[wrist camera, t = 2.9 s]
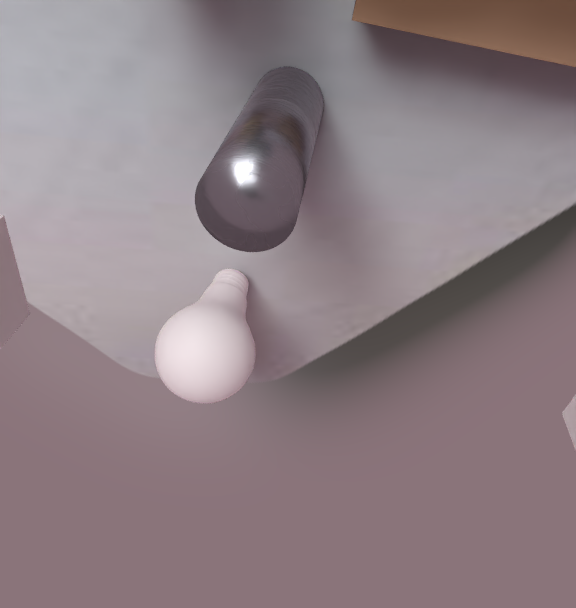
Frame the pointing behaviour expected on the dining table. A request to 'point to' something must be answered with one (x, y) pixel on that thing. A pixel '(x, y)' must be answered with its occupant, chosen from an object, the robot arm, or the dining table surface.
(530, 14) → the socket block
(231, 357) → the lightbulb
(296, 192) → the cylinder
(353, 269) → the dining table surface
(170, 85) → the dining table surface
